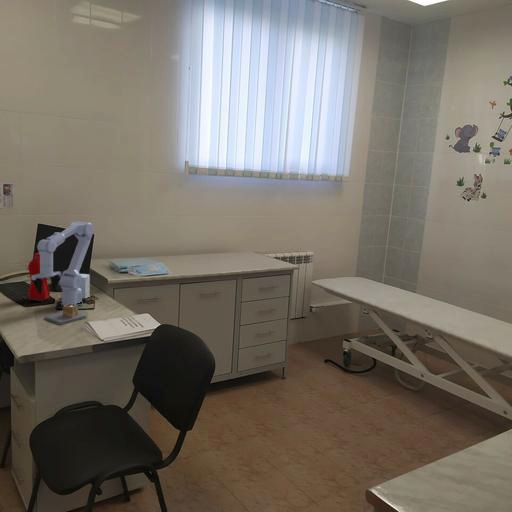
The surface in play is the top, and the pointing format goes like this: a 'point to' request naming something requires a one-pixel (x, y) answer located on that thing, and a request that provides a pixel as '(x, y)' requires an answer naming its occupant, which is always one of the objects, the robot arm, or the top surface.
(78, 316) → the flat gray board
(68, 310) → the wooden cubby box
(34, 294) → the water bottle
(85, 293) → the small box
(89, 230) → the robot arm
